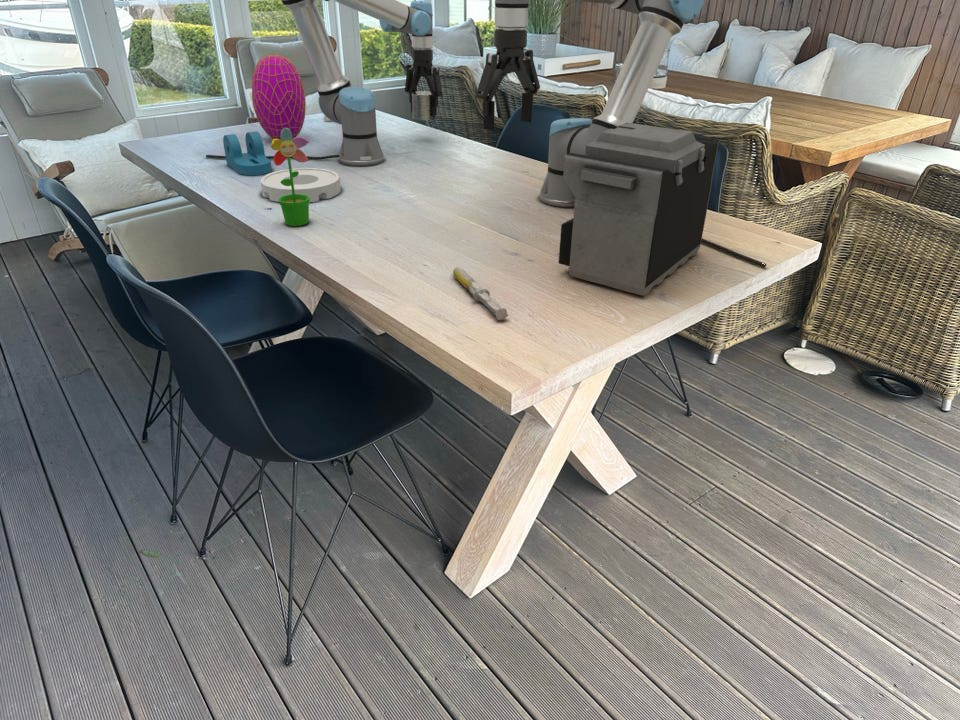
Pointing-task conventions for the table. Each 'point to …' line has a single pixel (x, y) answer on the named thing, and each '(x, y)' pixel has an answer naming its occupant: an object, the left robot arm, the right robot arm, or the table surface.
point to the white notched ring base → (302, 184)
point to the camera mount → (246, 154)
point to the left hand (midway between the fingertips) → (423, 113)
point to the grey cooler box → (636, 205)
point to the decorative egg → (278, 96)
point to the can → (421, 106)
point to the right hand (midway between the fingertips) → (507, 125)
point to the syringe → (479, 293)
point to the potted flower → (291, 178)
